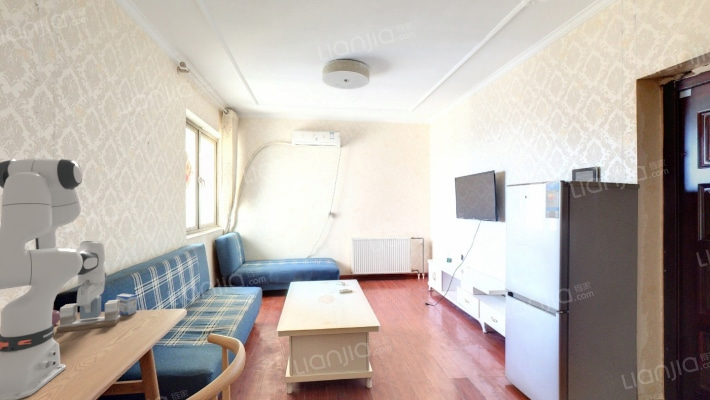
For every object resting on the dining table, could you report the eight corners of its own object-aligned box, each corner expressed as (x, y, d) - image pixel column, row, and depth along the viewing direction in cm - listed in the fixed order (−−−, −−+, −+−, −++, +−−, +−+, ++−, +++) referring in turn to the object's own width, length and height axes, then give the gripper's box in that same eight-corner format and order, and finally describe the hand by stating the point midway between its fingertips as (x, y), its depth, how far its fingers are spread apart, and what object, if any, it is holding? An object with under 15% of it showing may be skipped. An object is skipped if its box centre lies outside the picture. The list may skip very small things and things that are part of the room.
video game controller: (59, 327, 136) (67, 311, 139) (49, 327, 132) (57, 309, 135) (38, 326, 137) (46, 310, 140) (28, 325, 133) (36, 308, 136)
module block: (97, 317, 135) (97, 297, 135) (79, 319, 132) (80, 299, 132) (100, 313, 139) (101, 294, 139) (83, 315, 136) (84, 295, 136)
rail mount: (116, 325, 136) (116, 303, 136) (56, 332, 128) (56, 309, 128) (121, 318, 143) (121, 298, 143) (65, 324, 135) (65, 303, 135)
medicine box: (114, 313, 149) (115, 295, 149) (123, 310, 154) (124, 292, 154) (128, 315, 148) (128, 297, 148) (136, 312, 152) (137, 294, 152)
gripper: (91, 283, 127) (91, 317, 127) (107, 272, 146) (107, 301, 146) (71, 284, 125) (71, 319, 125) (91, 273, 143) (90, 303, 143)
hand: (90, 309), depth 136 cm, fingers closed on module block, 4 cm apart
